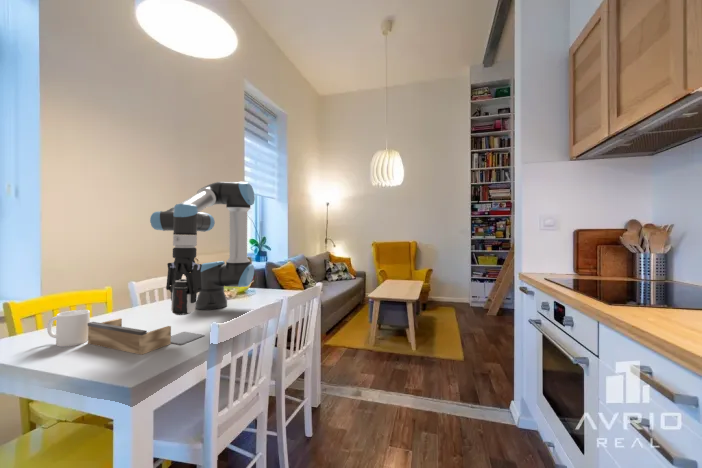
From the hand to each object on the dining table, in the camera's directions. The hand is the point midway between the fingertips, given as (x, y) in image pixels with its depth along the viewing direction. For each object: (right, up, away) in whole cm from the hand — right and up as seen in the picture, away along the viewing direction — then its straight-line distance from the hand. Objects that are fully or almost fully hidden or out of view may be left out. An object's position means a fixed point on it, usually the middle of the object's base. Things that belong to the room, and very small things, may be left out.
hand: (183, 310), depth 108 cm
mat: (0, -10, 0) cm, 10 cm away
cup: (-36, -10, -6) cm, 38 cm away
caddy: (-15, -10, -6) cm, 19 cm away
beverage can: (0, -1, 0) cm, 1 cm away
